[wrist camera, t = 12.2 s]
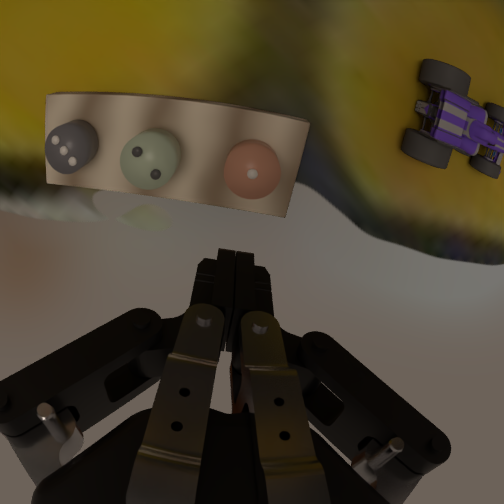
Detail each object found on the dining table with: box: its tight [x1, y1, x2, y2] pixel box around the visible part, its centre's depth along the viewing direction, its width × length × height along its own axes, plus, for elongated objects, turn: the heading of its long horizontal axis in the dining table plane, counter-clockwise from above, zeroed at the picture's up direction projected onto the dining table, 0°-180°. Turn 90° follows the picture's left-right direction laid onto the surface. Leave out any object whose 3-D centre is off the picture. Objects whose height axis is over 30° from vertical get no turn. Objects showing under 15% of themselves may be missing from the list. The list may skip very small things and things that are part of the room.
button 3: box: [45, 120, 98, 174], centre depth 23 cm, size 4×4×3 cm
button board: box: [45, 92, 310, 218], centre depth 26 cm, size 24×9×2 cm, turn 79°
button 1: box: [224, 139, 281, 199], centre depth 25 cm, size 4×4×3 cm
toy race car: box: [401, 59, 504, 179], centre depth 23 cm, size 10×15×6 cm, turn 81°
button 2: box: [120, 128, 181, 190], centre depth 23 cm, size 4×4×3 cm
